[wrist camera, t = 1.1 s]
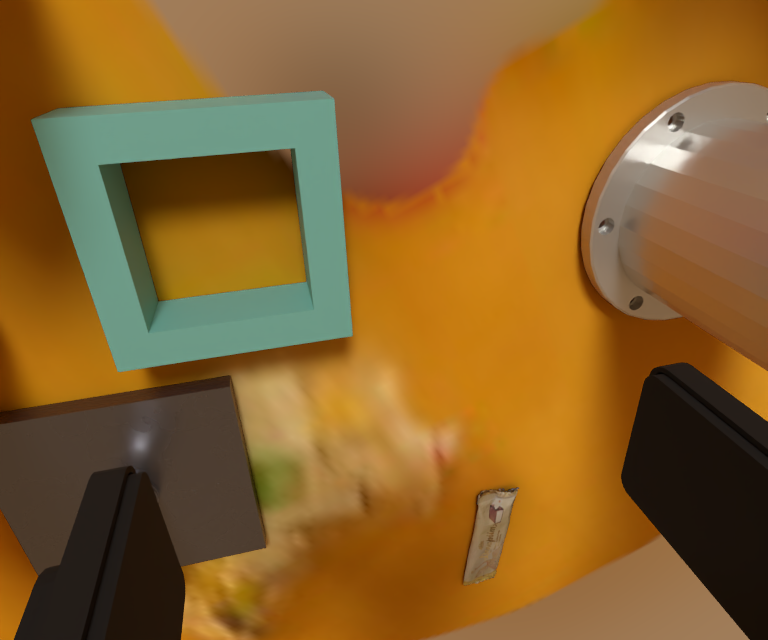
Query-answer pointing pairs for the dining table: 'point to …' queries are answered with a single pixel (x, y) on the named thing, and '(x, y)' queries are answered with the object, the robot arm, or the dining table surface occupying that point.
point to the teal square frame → (123, 242)
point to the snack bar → (488, 534)
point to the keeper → (145, 454)
